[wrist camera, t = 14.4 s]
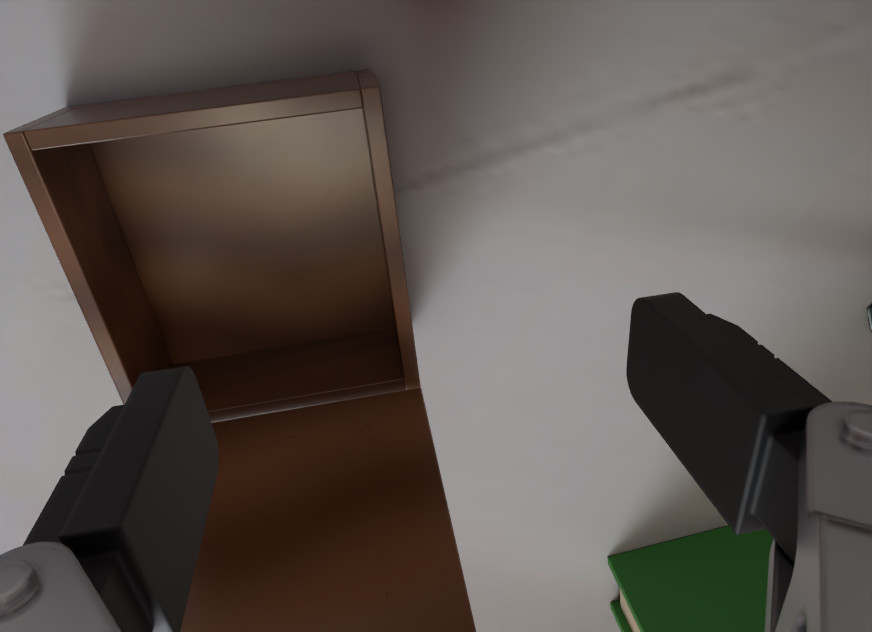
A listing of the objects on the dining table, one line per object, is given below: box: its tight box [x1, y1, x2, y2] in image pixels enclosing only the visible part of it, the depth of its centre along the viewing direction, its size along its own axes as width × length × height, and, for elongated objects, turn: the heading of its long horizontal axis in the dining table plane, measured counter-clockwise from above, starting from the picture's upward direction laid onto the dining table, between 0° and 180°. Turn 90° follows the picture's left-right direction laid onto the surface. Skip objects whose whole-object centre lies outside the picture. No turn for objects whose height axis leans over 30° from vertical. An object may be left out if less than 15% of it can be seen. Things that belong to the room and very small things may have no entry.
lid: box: [180, 388, 476, 632], centre depth 25 cm, size 16×15×5 cm
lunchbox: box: [3, 70, 421, 423], centre depth 31 cm, size 16×15×6 cm
